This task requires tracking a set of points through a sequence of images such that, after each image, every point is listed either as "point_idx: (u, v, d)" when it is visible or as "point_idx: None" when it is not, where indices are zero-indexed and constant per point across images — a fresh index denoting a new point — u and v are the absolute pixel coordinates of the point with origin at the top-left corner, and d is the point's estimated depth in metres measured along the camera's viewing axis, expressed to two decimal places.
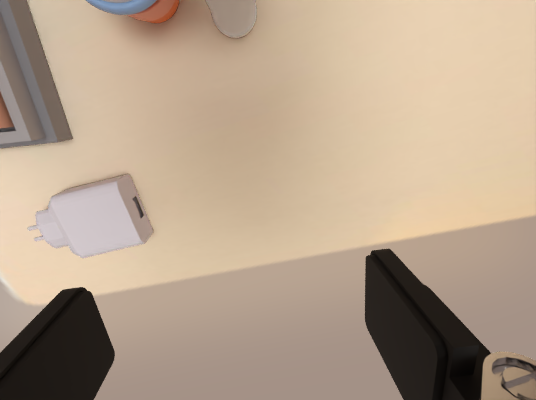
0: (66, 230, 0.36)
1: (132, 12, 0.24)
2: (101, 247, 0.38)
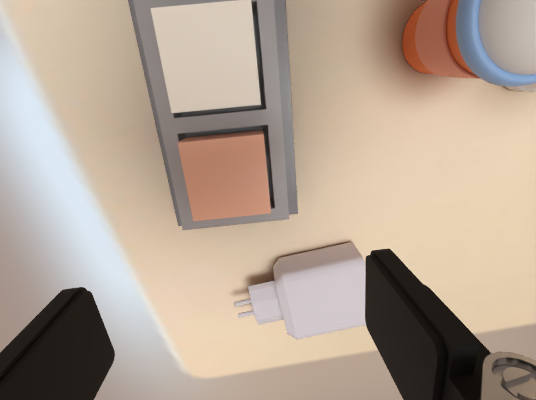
0: (292, 312, 0.31)
1: (528, 84, 0.18)
2: (326, 329, 0.32)
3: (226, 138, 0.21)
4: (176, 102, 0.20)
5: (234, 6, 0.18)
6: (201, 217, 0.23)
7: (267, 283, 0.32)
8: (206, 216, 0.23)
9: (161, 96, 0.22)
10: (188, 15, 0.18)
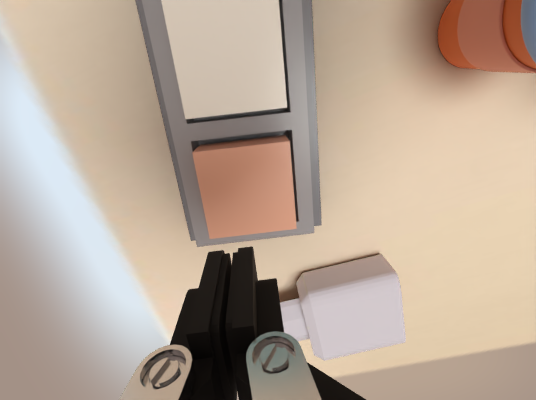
0: (320, 332, 0.28)
1: None
2: (355, 349, 0.29)
3: (247, 146, 0.18)
4: (191, 106, 0.17)
5: None
6: (218, 234, 0.20)
7: (291, 301, 0.30)
8: (224, 233, 0.20)
9: (172, 99, 0.19)
10: (205, 5, 0.16)
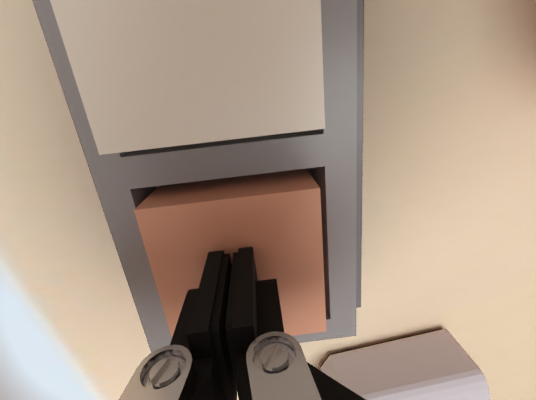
0: None
1: None
2: None
3: (239, 197, 0.10)
4: (109, 128, 0.08)
5: None
6: None
7: None
8: None
9: None
10: None
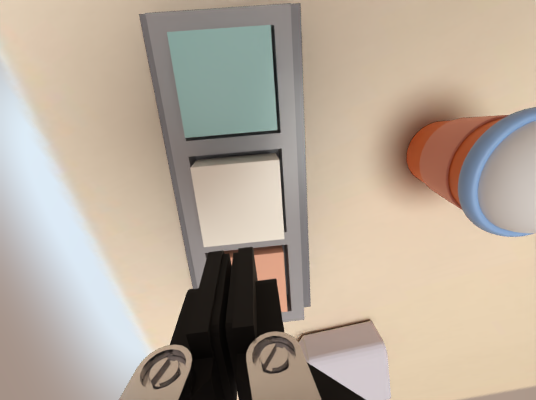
0: None
1: None
2: None
3: None
4: (208, 238, 0.22)
5: (264, 165, 0.20)
6: None
7: None
8: None
9: (192, 223, 0.24)
10: (223, 172, 0.20)
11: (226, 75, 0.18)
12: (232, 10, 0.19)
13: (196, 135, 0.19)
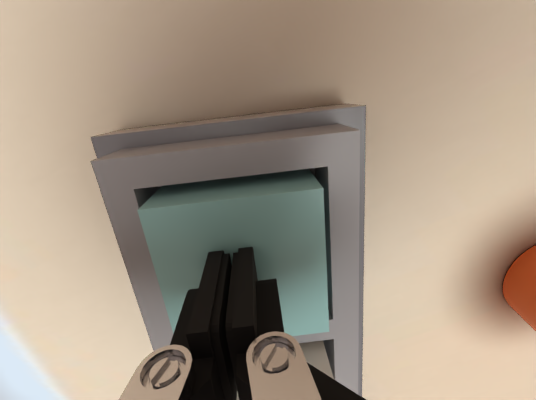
0: None
1: None
2: None
3: None
4: None
5: None
6: None
7: None
8: None
9: None
10: None
11: None
12: (251, 147, 0.10)
13: None
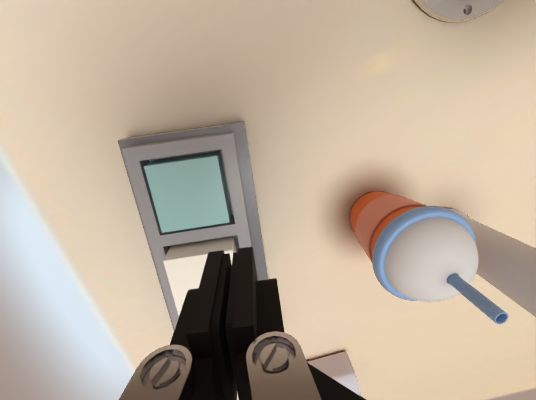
0: None
1: None
2: None
3: None
4: None
5: None
6: None
7: None
8: None
9: (170, 295, 0.29)
10: (189, 262, 0.26)
11: (188, 189, 0.25)
12: (188, 142, 0.25)
13: (170, 230, 0.26)
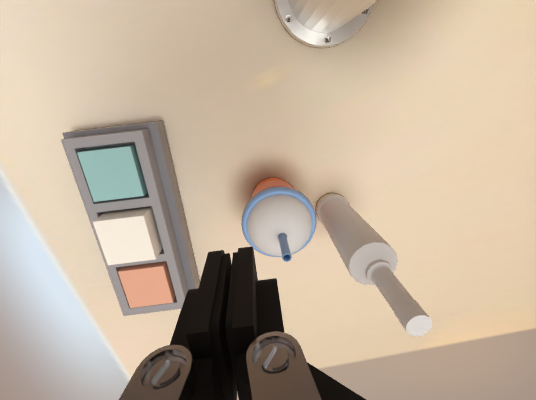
0: None
1: None
2: None
3: (143, 268, 0.40)
4: (110, 260, 0.37)
5: (135, 219, 0.36)
6: (134, 306, 0.42)
7: None
8: (137, 305, 0.42)
9: None
10: (112, 223, 0.36)
11: (111, 170, 0.35)
12: (109, 135, 0.34)
13: (99, 200, 0.36)
